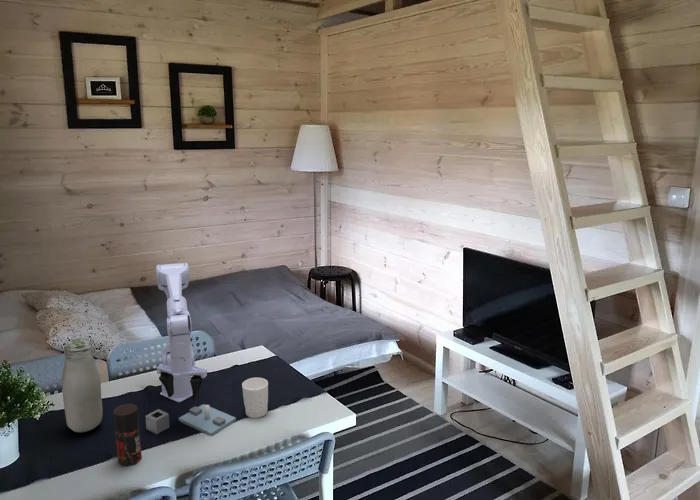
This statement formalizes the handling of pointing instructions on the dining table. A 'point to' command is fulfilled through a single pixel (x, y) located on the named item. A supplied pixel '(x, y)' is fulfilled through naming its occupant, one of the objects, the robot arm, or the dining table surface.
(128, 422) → the deodorant
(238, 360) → the dining table surface
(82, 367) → the glass bottle
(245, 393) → the white cup
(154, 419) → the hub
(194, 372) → the robot arm
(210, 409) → the shaft base
